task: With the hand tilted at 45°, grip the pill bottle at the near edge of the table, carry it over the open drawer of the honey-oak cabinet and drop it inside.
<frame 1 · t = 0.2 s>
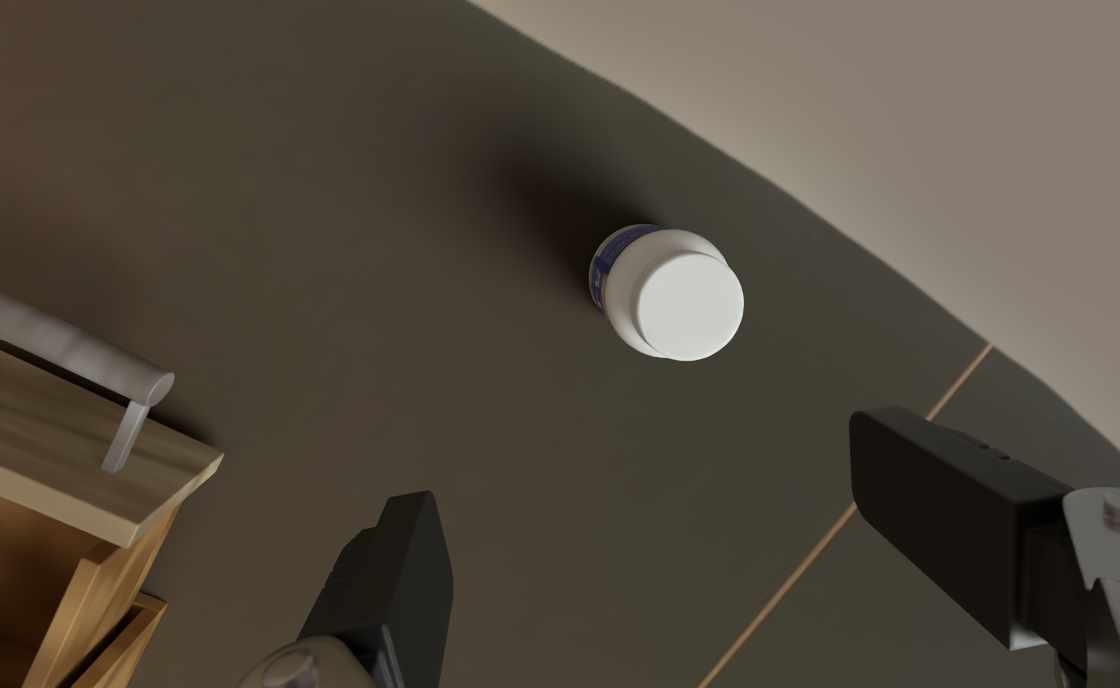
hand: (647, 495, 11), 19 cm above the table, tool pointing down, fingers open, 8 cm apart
pill bottle: (638, 276, 29), on the table
drawer: (18, 515, 25), point 4 cm above the table, slide at 9.0 cm
cabinet: (1, 666, 32), on the table
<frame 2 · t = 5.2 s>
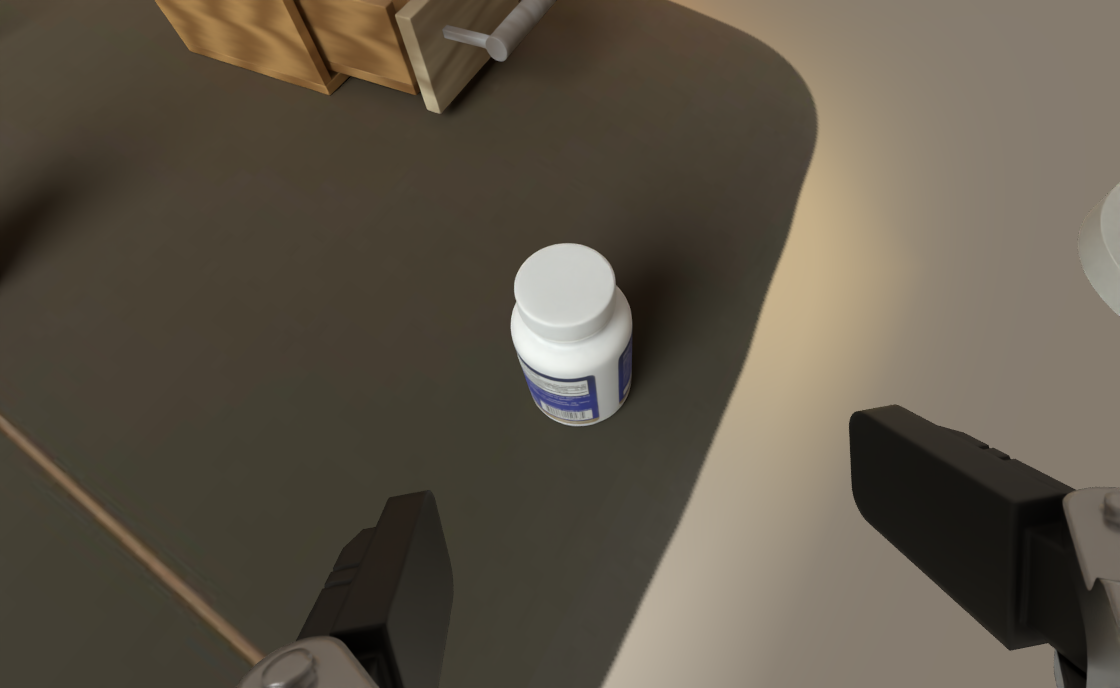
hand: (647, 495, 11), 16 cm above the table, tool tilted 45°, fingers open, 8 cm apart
pill bottle: (579, 383, 30), on the table
drawer: (417, 7, 41), point 4 cm above the table, slide at 9.0 cm
cabinet: (307, 27, 49), on the table
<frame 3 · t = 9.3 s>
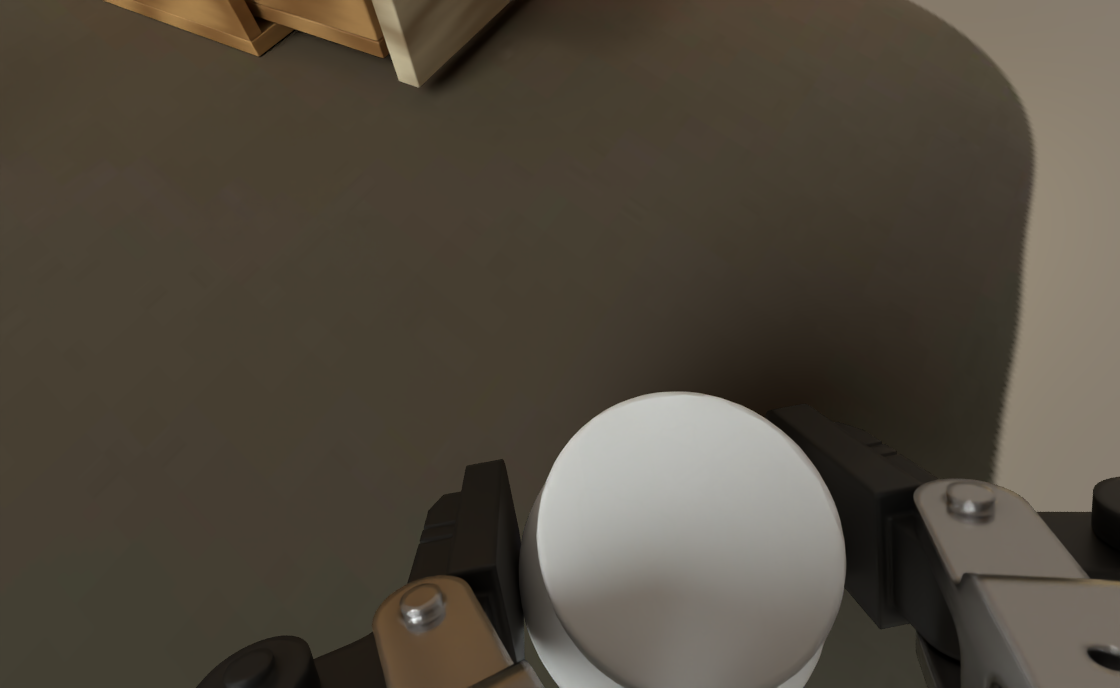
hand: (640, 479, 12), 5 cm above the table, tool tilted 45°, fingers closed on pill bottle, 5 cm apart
pill bottle: (646, 607, 15), on the table, touching gripper
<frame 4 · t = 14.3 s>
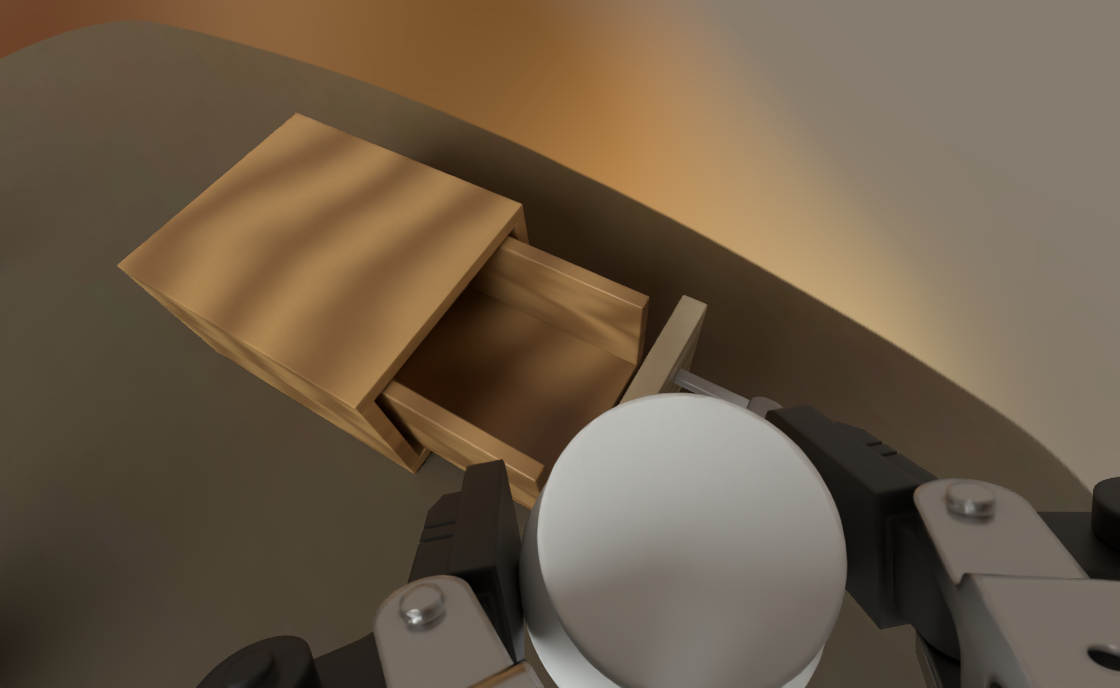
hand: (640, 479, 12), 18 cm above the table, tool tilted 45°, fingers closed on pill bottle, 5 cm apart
pill bottle: (647, 608, 15), point 13 cm above the table, touching gripper
drawer: (557, 391, 28), point 4 cm above the table, slide at 9.0 cm
cabinet: (379, 327, 36), on the table
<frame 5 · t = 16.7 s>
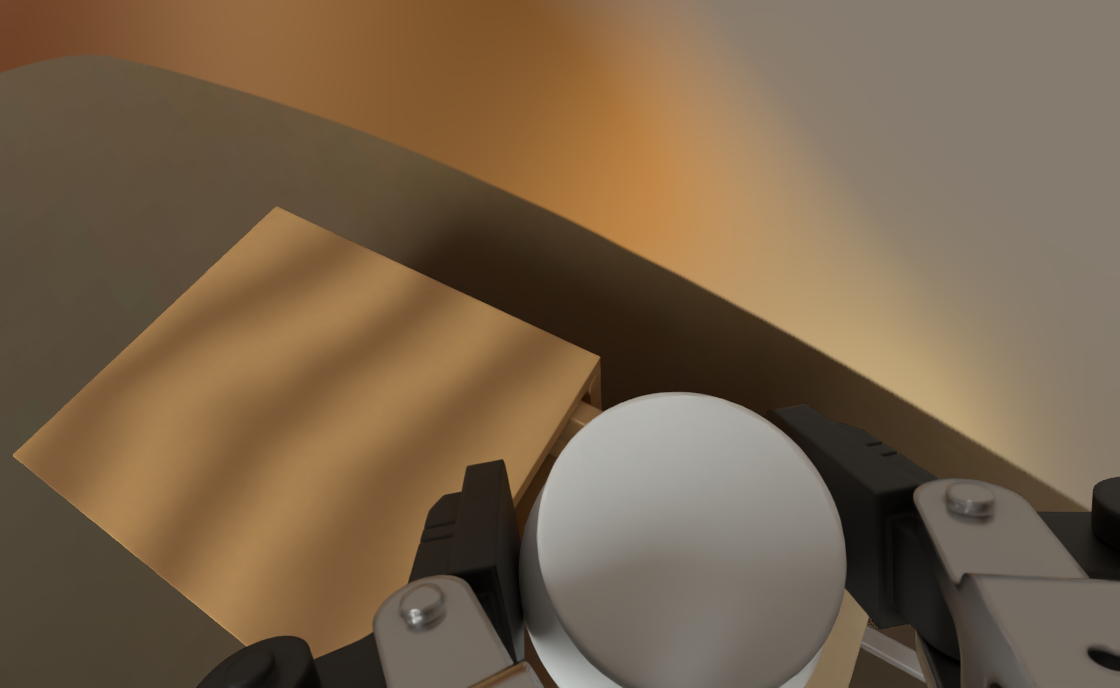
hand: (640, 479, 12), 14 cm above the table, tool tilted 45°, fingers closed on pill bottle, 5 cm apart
pill bottle: (646, 607, 15), point 9 cm above the table, touching gripper
drawer: (657, 633, 19), point 4 cm above the table, slide at 9.0 cm
cabinet: (390, 481, 27), on the table
when the fingers open (7 cm above the table, at t = 19.2 s): pill bottle stays where it is, resting on drawer.
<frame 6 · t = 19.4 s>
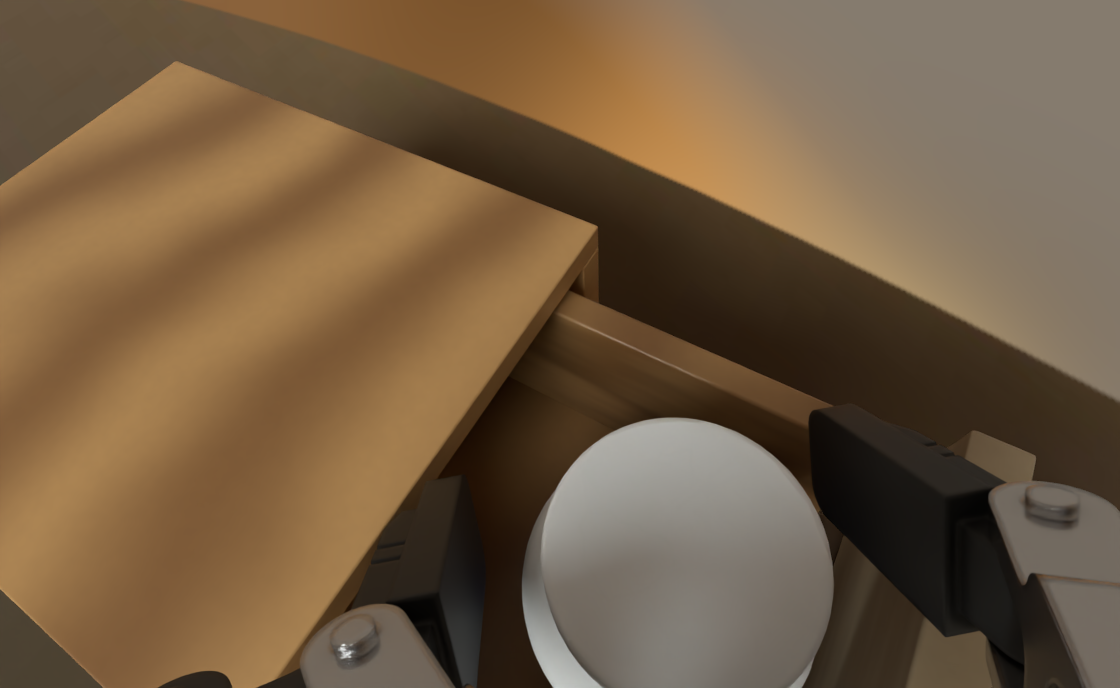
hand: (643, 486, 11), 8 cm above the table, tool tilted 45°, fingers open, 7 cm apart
pill bottle: (645, 616, 16), point 2 cm above the table, touching drawer
drawer: (675, 615, 13), point 4 cm above the table, slide at 9.0 cm, touching pill bottle
cabinet: (330, 428, 21), on the table
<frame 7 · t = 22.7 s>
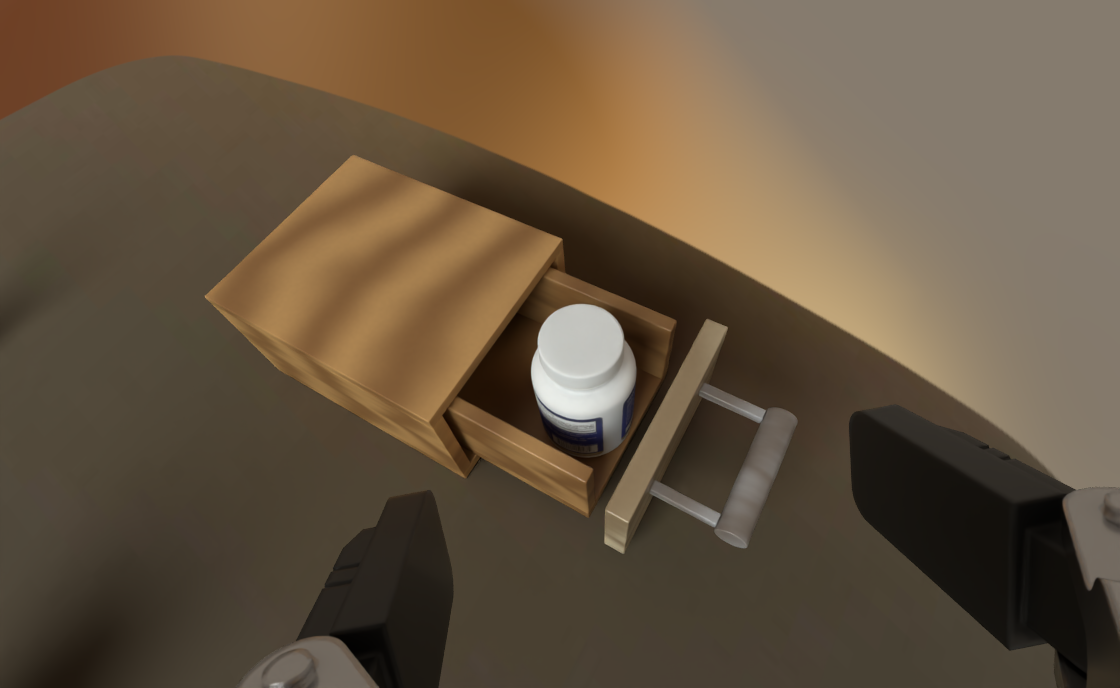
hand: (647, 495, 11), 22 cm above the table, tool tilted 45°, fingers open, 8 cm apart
pill bottle: (586, 418, 34), point 2 cm above the table, touching drawer
drawer: (595, 403, 32), point 4 cm above the table, slide at 9.0 cm, touching pill bottle
cabinet: (425, 346, 39), on the table
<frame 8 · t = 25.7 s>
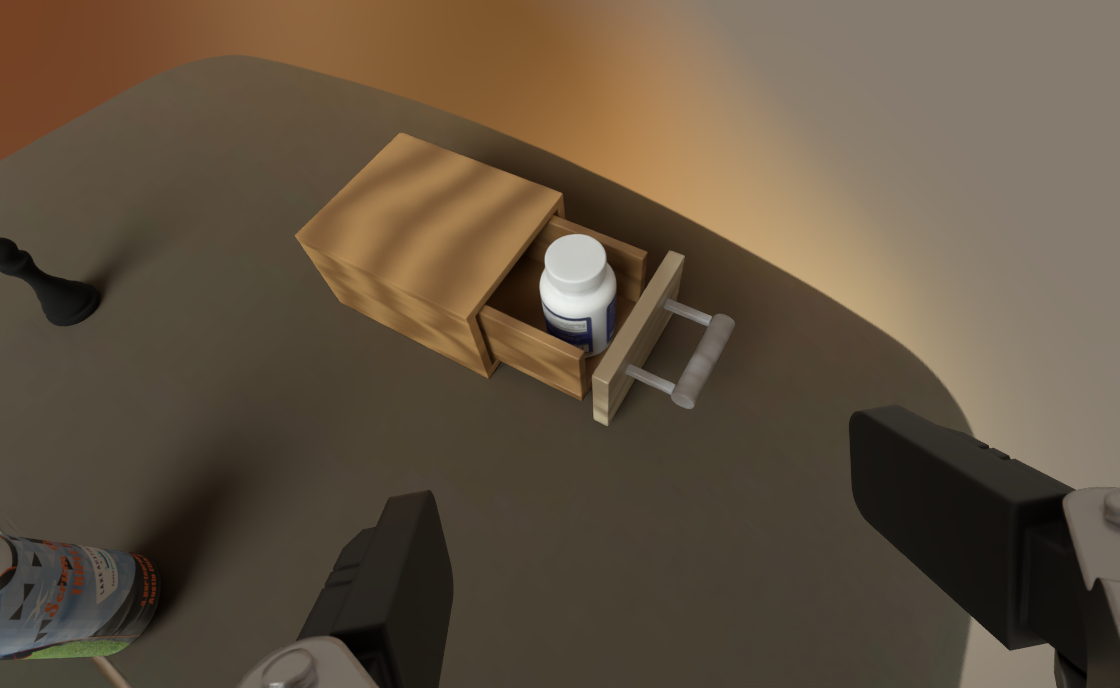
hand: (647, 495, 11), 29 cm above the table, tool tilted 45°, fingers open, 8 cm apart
pill bottle: (581, 331, 44), point 2 cm above the table, touching drawer
drawer: (587, 316, 42), point 4 cm above the table, slide at 9.0 cm, touching pill bottle
beverage can: (121, 610, 38), on the table
cabinet: (455, 284, 50), on the table
chess piece: (76, 307, 52), on the table
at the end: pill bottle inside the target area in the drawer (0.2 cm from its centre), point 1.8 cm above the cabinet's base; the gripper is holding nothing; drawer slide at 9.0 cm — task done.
